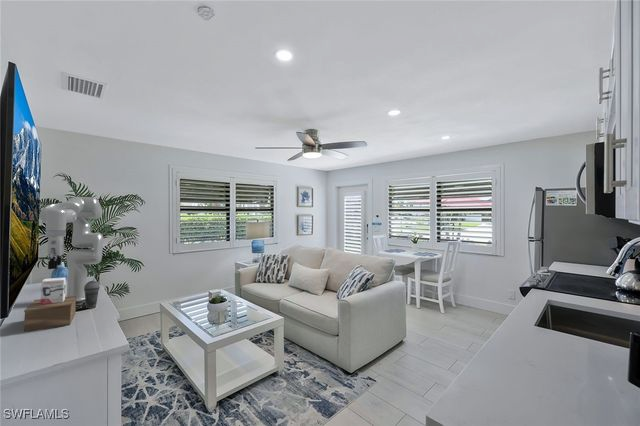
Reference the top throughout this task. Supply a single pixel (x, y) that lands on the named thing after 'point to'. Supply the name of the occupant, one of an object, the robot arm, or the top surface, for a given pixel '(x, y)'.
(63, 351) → the top surface
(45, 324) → the wooden box
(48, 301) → the ink box
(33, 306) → the brown wooden board
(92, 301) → the beverage cup
